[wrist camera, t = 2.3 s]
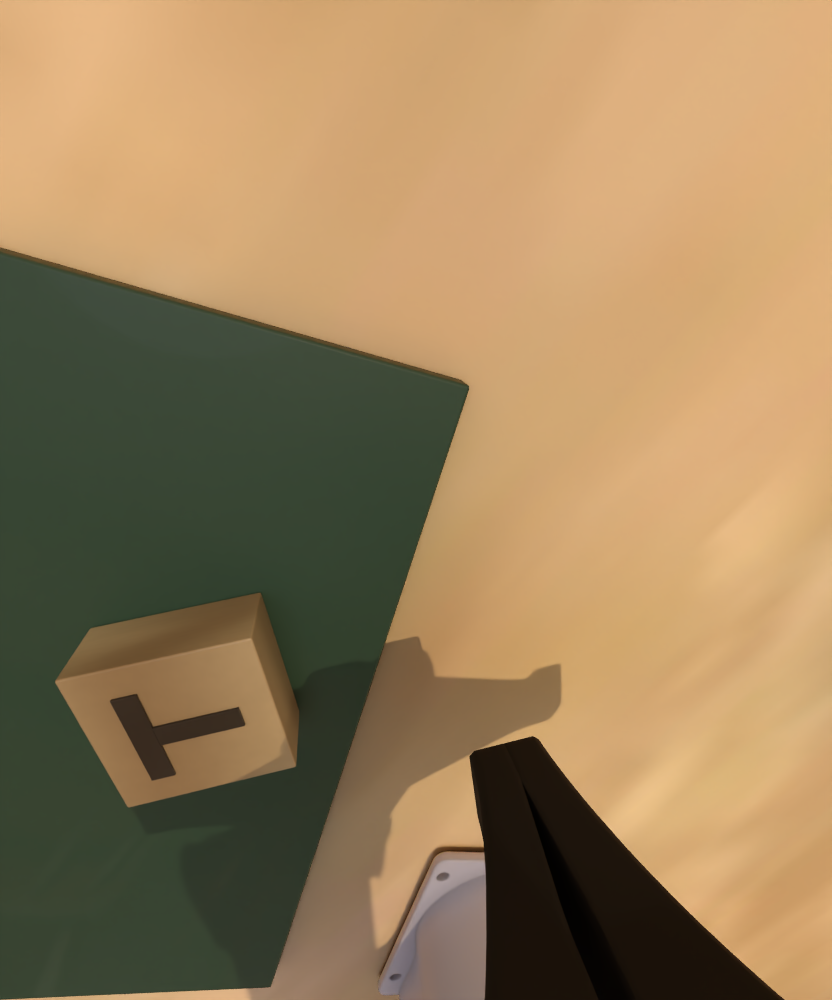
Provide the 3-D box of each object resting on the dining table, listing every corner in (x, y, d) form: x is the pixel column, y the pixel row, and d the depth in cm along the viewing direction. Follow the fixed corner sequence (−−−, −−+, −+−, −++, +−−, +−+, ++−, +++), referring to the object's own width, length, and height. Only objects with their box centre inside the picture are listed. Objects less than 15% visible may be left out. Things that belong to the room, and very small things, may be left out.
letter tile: (260, 591, 14) (251, 640, 12) (299, 711, 16) (296, 770, 14) (89, 627, 13) (51, 684, 12) (150, 746, 15) (126, 811, 13)
